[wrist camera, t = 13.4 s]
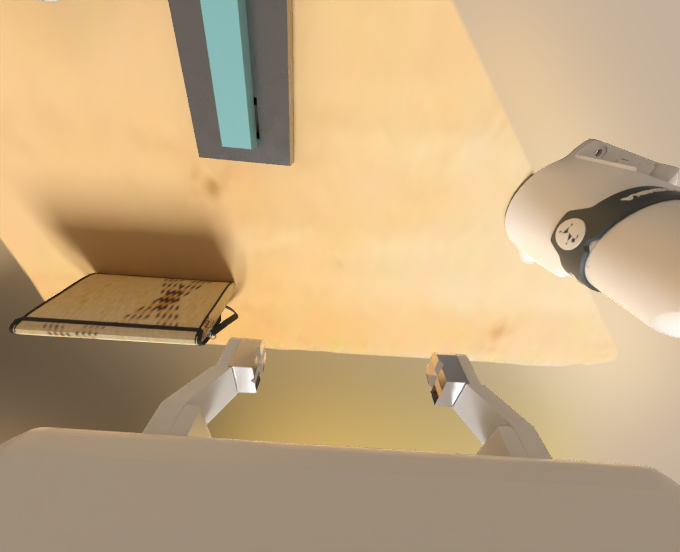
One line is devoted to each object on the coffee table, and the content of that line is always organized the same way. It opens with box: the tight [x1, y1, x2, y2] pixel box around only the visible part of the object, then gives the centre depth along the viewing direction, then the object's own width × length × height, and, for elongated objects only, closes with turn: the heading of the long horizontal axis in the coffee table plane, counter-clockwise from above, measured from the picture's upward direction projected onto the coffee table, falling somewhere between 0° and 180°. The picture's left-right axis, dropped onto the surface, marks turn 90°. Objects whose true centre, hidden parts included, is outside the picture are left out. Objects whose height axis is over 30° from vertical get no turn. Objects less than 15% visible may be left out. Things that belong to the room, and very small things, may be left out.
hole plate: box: [168, 0, 294, 166], centre depth 29 cm, size 12×24×3 cm, turn 175°
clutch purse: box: [9, 273, 238, 346], centre depth 43 cm, size 30×7×15 cm, turn 86°
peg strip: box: [200, 0, 259, 149], centre depth 27 cm, size 4×20×5 cm, turn 175°
